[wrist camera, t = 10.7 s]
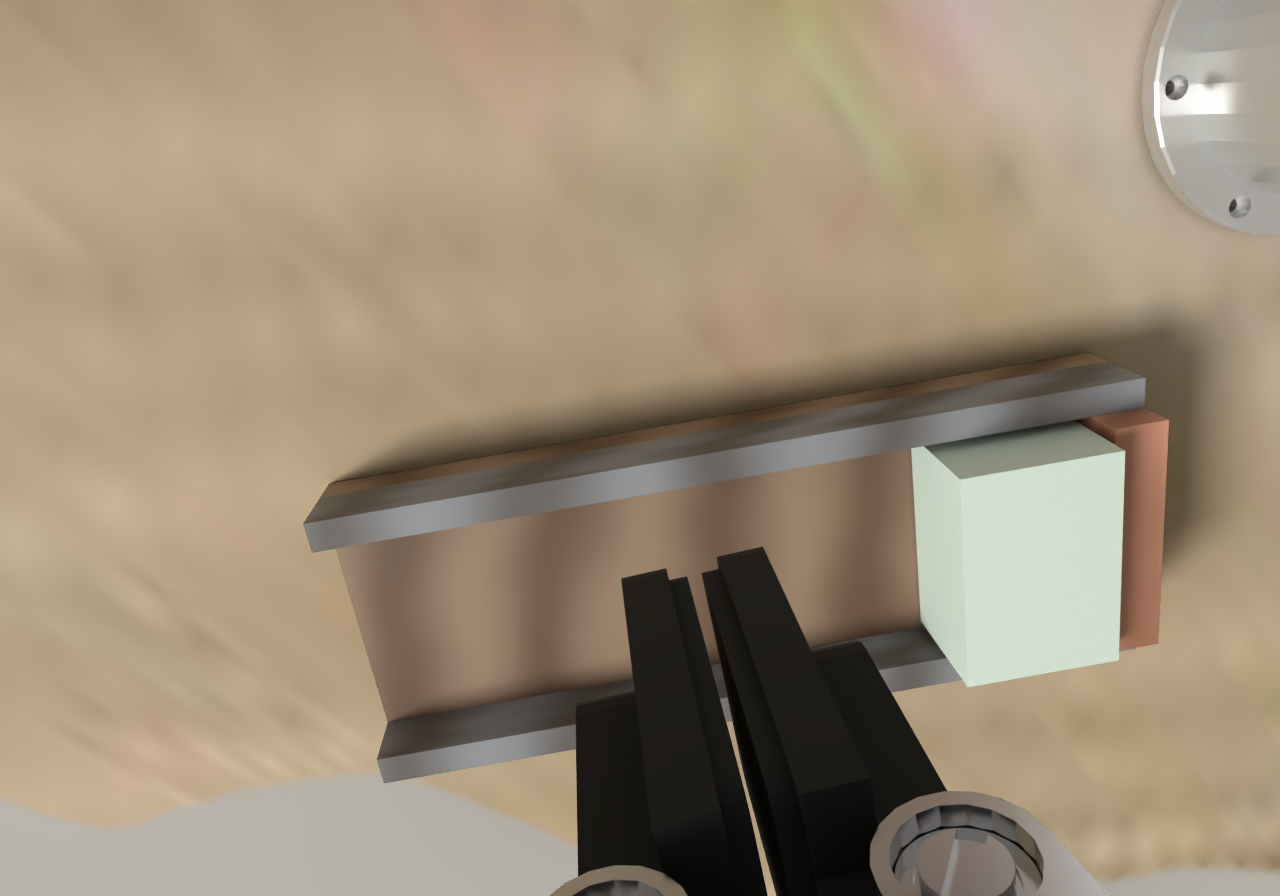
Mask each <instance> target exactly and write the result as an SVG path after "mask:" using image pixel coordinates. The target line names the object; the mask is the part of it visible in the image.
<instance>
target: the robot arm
mask: <svg viewBox="0 0 1280 896" xmlns="http://www.w3.org/2000/svg"><path fill="white" fill-rule="evenodd" d="M1166 84H1167V90H1166V92H1165V87H1166ZM1141 104H1142V114H1143V124H1144V133H1145V136H1146V139H1147V142H1148V146H1149V149H1150V152H1151V155H1152V159H1153V162H1154V163H1155V165H1156V167H1157V169H1158V171H1159V172H1160V174H1161V176H1162V178H1163V179H1164V181H1165V183H1166V185H1167V186H1168V187H1169V189H1170V190H1171V191H1172V192H1173V193H1174V194H1175V195H1176V196H1177V197H1178V198H1179V200H1180V201H1181V202H1182V203H1183V204H1184V205H1185V206H1186V207H1187V208H1189V209H1190V210H1192V211H1193V212H1195V213H1196V214H1198V215H1199V216H1201V217H1202V218H1204V219H1205V220H1207V221H1209V222H1211V223H1214V224H1217V225H1219V226H1222V227H1224V228H1227V229H1230V230H1232V231H1239V232H1245V233H1250V234H1255V235H1260V236H1280V0H1165V2H1164V4H1163V7H1162V9H1161V11H1160V14H1159V16H1158V19H1157V21H1156V23H1155V26H1154V28H1153V31H1152V34H1151V38H1150V42H1149V46H1148V51H1147V55H1146V59H1145V63H1144V69H1143V82H1142V95H1141ZM717 564H718V569H716V570H712V571H708V572H703V573H702V578H703V583H704V588H705V593H706V598H707V603H708V607H709V612H710V617H711V622H712V626H713V631H714V636H715V641H716V645H717V650H718V655H719V660H720V664H721V669H722V674H723V678H724V683H725V688H726V693H727V697H728V702H729V707H730V712H731V716H732V721H733V726H734V731H735V735H736V740H737V745H738V750H739V754H740V759H741V764H742V768H743V772H744V777H745V781H746V785H747V789H748V792H749V796H750V800H751V803H752V807H753V811H754V814H755V818H756V822H757V825H758V829H759V833H760V837H761V840H762V844H763V848H764V851H765V855H766V859H767V862H768V866H769V870H770V873H771V877H772V881H773V884H774V888H775V892H776V895H777V896H1110V895H1109V894H1108V893H1107V892H1106V891H1105V890H1104V888H1103V887H1102V886H1101V885H1100V884H1099V883H1098V882H1097V881H1096V880H1095V879H1094V878H1093V877H1092V875H1091V874H1090V873H1089V872H1088V871H1087V870H1086V869H1085V868H1084V867H1083V866H1082V865H1081V864H1080V862H1079V861H1078V860H1077V859H1076V858H1075V857H1074V856H1073V855H1072V854H1071V853H1070V852H1069V851H1068V849H1067V848H1066V847H1065V846H1064V845H1063V844H1062V843H1061V842H1060V841H1059V840H1058V839H1057V838H1056V837H1055V835H1054V834H1053V833H1052V832H1051V831H1050V830H1049V829H1048V828H1047V827H1046V826H1045V825H1043V824H1042V823H1041V822H1040V821H1039V820H1037V819H1036V818H1035V817H1034V816H1032V815H1031V814H1030V813H1029V812H1028V811H1026V810H1025V809H1022V808H1020V807H1018V806H1016V805H1014V804H1012V803H1010V802H1008V801H1005V800H1003V799H1001V798H998V797H994V796H989V795H985V794H980V793H976V792H961V791H947V790H946V788H945V786H944V785H943V783H942V781H941V779H940V778H939V776H938V774H937V772H936V771H935V769H934V767H933V765H932V764H931V762H930V760H929V758H928V757H927V755H926V753H925V751H924V750H923V748H922V746H921V744H920V742H919V741H918V739H917V737H916V735H915V734H914V732H913V730H912V728H911V727H910V725H909V723H908V721H907V720H906V718H905V716H904V714H903V713H902V711H901V709H900V707H899V706H898V704H897V702H896V700H895V698H894V697H893V695H892V693H891V691H890V690H889V688H888V686H887V684H886V683H885V681H884V679H883V677H882V676H881V674H880V672H879V670H878V669H877V667H876V665H875V663H874V662H873V660H872V658H871V656H870V654H869V653H868V651H867V649H866V648H865V646H864V645H863V644H862V642H860V641H853V642H849V643H844V644H840V645H835V646H831V647H826V648H822V649H818V650H813V651H811V649H810V647H809V645H808V643H807V641H806V638H805V636H804V634H803V632H802V630H801V628H800V625H799V623H798V621H797V619H796V617H795V615H794V612H793V610H792V608H791V606H790V604H789V602H788V599H787V597H786V595H785V593H784V591H783V589H782V586H781V584H780V582H779V580H778V578H777V576H776V574H775V571H774V569H773V567H772V565H771V563H770V561H769V558H768V556H767V554H766V552H765V550H764V548H763V547H758V548H754V549H749V550H745V551H740V552H736V553H731V554H727V555H723V556H718V557H717ZM621 583H622V591H623V600H624V608H625V616H626V624H627V633H628V641H629V649H630V657H631V666H632V674H633V682H634V691H631V692H627V693H622V694H618V695H613V696H609V697H605V698H600V699H596V700H591V701H587V702H582V703H578V704H577V706H576V769H577V828H578V877H577V878H575V879H573V880H571V881H568V882H566V883H565V884H564V885H562V886H561V887H560V888H558V889H557V890H556V891H555V892H554V893H553V894H551V895H550V896H767V891H766V886H765V881H764V877H763V872H762V867H761V863H760V858H759V853H758V848H757V844H756V839H755V834H754V830H753V825H752V821H751V817H750V812H749V808H748V804H747V800H746V796H745V792H744V788H743V784H742V780H741V776H740V772H739V768H738V765H737V761H736V757H735V753H734V750H733V746H732V742H731V738H730V735H729V731H728V727H727V723H726V720H725V716H724V712H723V708H722V705H721V701H720V697H719V693H718V690H717V686H716V682H715V678H714V675H713V671H712V667H711V663H710V660H709V656H708V652H707V648H706V645H705V641H704V637H703V633H702V630H701V626H700V622H699V618H698V615H697V611H696V607H695V603H694V600H693V596H692V592H691V588H690V585H689V581H688V577H687V576H685V577H681V578H676V579H672V580H669V578H668V573H667V569H666V568H665V569H660V570H656V571H652V572H647V573H643V574H638V575H634V576H629V577H625V578H621Z"/></svg>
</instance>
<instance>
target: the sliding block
mask: <svg viewBox="0 0 1280 896" xmlns="http://www.w3.org/2000/svg"><path fill="white" fill-rule="evenodd" d="M911 454H912V472H913V490H914V508H915V526H916V544H917V561H918V579H919V597H920V615H921V622H922V623H923V625H924V626H925V628H926V629H927V630H928V632H929V633H930V635H931V636H932V637H933V639H934V640H935V642H936V643H937V644H938V646H939V647H940V649H941V650H942V652H943V653H944V654H945V656H946V657H947V659H948V660H949V661H950V663H951V664H952V666H953V667H954V668H955V670H956V671H957V673H958V674H959V676H960V677H961V678H962V680H963V681H964V683H965V684H966V685H967V687H972V686H977V685H983V684H989V683H994V682H1000V681H1005V680H1011V679H1016V678H1022V677H1028V676H1033V675H1039V674H1044V673H1050V672H1055V671H1061V670H1067V669H1072V668H1078V667H1083V666H1089V665H1095V664H1100V663H1106V662H1111V661H1117V660H1119V637H1120V605H1121V572H1122V540H1123V508H1124V476H1125V450H1123V449H1121V448H1120V447H1118V446H1116V445H1115V444H1113V443H1111V442H1110V441H1108V440H1106V439H1105V438H1103V437H1101V436H1100V435H1098V434H1096V433H1094V432H1093V431H1091V430H1089V429H1088V428H1086V427H1084V426H1083V425H1081V424H1079V423H1078V422H1076V421H1074V420H1071V421H1065V422H1060V423H1054V424H1048V425H1043V426H1037V427H1031V428H1025V429H1020V430H1014V431H1008V432H1002V433H997V434H991V435H985V436H979V437H974V438H968V439H962V440H956V441H951V442H945V443H939V444H933V445H928V446H922V447H916V448H911Z"/></svg>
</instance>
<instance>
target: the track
mask: <svg viewBox="0 0 1280 896" xmlns="http://www.w3.org/2000/svg"><path fill="white" fill-rule="evenodd" d="M1145 388H1146V378H1145V377H1143V376H1141V375H1139V374H1136V373H1134V372H1132V371H1130V370H1127V369H1125V368H1123V367H1121V366H1118V365H1116V364H1114V363H1112V362H1109V361H1107V360H1105V359H1103V358H1100V357H1098V356H1096V355H1094V354H1092V353H1089V352H1088V353H1083V354H1077V355H1071V356H1065V357H1059V358H1054V359H1048V360H1042V361H1036V362H1030V363H1025V364H1019V365H1013V366H1007V367H1001V368H996V369H990V370H984V371H978V372H973V373H967V374H961V375H955V376H949V377H944V378H938V379H932V380H926V381H920V382H915V383H909V384H903V385H897V386H891V387H886V388H880V389H874V390H868V391H863V392H857V393H851V394H845V395H839V396H834V397H828V398H822V399H816V400H810V401H805V402H799V403H793V404H787V405H781V406H776V407H770V408H764V409H758V410H753V411H747V412H741V413H735V414H729V415H724V416H718V417H712V418H706V419H700V420H695V421H689V422H683V423H677V424H671V425H666V426H660V427H654V428H648V429H643V430H637V431H631V432H625V433H619V434H614V435H608V436H602V437H596V438H590V439H585V440H579V441H573V442H567V443H561V444H556V445H550V446H544V447H538V448H533V449H527V450H521V451H515V452H509V453H504V454H498V455H492V456H486V457H480V458H475V459H469V460H463V461H457V462H452V463H446V464H440V465H434V466H428V467H423V468H417V469H411V470H405V471H399V472H394V473H388V474H382V475H376V476H370V477H365V478H359V479H353V480H347V481H342V482H336V483H330V484H329V485H328V486H327V488H326V489H325V491H324V493H323V494H322V496H321V497H320V499H319V500H318V502H317V503H316V505H315V506H314V508H313V510H312V511H311V513H310V514H309V516H308V517H307V519H306V520H305V522H304V523H303V525H304V528H305V531H306V534H307V538H308V541H309V544H310V547H311V551H312V553H313V552H319V551H325V550H330V549H336V552H337V555H338V559H339V562H340V565H341V568H342V572H343V575H344V578H345V582H346V585H347V588H348V592H349V595H350V598H351V602H352V605H353V608H354V612H355V615H356V618H357V621H358V625H359V628H360V631H361V635H362V638H363V641H364V645H365V648H366V651H367V655H368V658H369V661H370V665H371V668H372V671H373V674H374V678H375V681H376V684H377V688H378V691H379V694H380V698H381V701H382V704H383V708H384V711H385V714H386V718H387V721H388V724H387V727H386V731H385V734H384V737H383V741H382V744H381V748H380V751H379V754H378V758H377V762H378V765H379V768H380V771H381V775H382V778H383V781H384V783H389V782H394V781H400V780H405V779H411V778H417V777H422V776H428V775H433V774H439V773H445V772H450V771H456V770H461V769H467V768H472V767H478V766H484V765H489V764H495V763H500V762H506V761H511V760H517V759H523V758H528V757H534V756H539V755H545V754H551V753H556V752H562V751H567V750H573V749H576V706H577V704H578V703H582V702H587V701H591V700H596V699H600V698H605V697H609V696H613V695H618V694H622V693H627V692H631V691H634V682H633V674H632V666H631V657H630V649H629V641H628V633H627V624H626V616H625V608H624V600H623V591H622V583H621V578H625V577H629V576H634V575H638V574H643V573H647V572H652V571H656V570H660V569H665V568H666V569H667V573H668V578H669V580H672V579H676V578H681V577H685V576H687V577H688V581H689V585H690V588H691V592H692V596H693V600H694V603H695V607H696V611H697V615H698V618H699V622H700V626H701V630H702V633H703V637H704V641H705V645H706V648H707V652H708V656H709V660H710V663H711V667H712V671H713V675H714V678H715V682H716V686H717V690H718V693H719V697H720V701H721V705H722V708H723V712H724V716H725V720H726V722H729V721H732V716H731V712H730V707H729V702H728V697H727V693H726V688H725V683H724V678H723V674H722V669H721V664H720V660H719V655H718V650H717V645H716V641H715V636H714V631H713V626H712V622H711V617H710V612H709V607H708V603H707V598H706V593H705V588H704V583H703V578H702V573H703V572H708V571H712V570H716V569H718V564H717V557H718V556H723V555H727V554H731V553H736V552H740V551H745V550H749V549H754V548H758V547H763V548H764V550H765V552H766V554H767V556H768V558H769V561H770V563H771V565H772V567H773V569H774V571H775V574H776V576H777V578H778V580H779V582H780V584H781V586H782V589H783V591H784V593H785V595H786V597H787V599H788V602H789V604H790V606H791V608H792V610H793V612H794V615H795V617H796V619H797V621H798V623H799V625H800V628H801V630H802V632H803V634H804V636H805V638H806V641H807V643H808V645H809V647H810V649H811V651H813V650H818V649H822V648H826V647H831V646H835V645H840V644H844V643H849V642H853V641H860V642H862V644H863V645H864V646H865V648H866V649H867V651H868V653H869V654H870V656H871V658H872V660H873V662H874V663H875V665H876V667H877V669H878V670H879V672H880V674H881V676H882V677H883V679H884V681H885V683H886V684H887V686H888V688H889V690H890V691H891V692H897V691H902V690H908V689H913V688H919V687H924V686H930V685H936V684H941V683H947V682H952V681H958V680H962V678H961V677H960V676H959V674H958V673H957V671H956V670H955V668H954V667H953V666H952V664H951V663H950V661H949V660H948V659H947V657H946V656H945V654H944V653H943V652H942V650H941V649H940V647H939V646H938V644H937V643H936V642H935V640H934V639H933V637H932V636H931V635H930V633H929V632H928V630H927V629H926V628H925V626H924V625H923V623H922V622H921V615H920V597H919V579H918V561H917V544H916V526H915V508H914V490H913V472H912V454H911V448H916V447H922V446H928V445H933V444H939V443H945V442H951V441H956V440H962V439H968V438H974V437H979V436H985V435H991V434H997V433H1002V432H1008V431H1014V430H1020V429H1025V428H1031V427H1037V426H1043V425H1048V424H1054V423H1060V422H1065V421H1071V420H1074V421H1076V422H1078V423H1079V424H1081V425H1083V426H1084V427H1086V428H1088V429H1089V430H1091V431H1093V432H1094V433H1096V434H1098V435H1100V436H1101V437H1103V438H1105V439H1106V440H1108V441H1110V442H1111V443H1113V444H1115V445H1116V446H1118V447H1120V448H1121V449H1123V450H1125V476H1124V508H1123V540H1122V572H1121V605H1120V637H1119V652H1120V651H1125V650H1131V649H1136V647H1142V646H1147V645H1153V644H1158V639H1159V618H1160V597H1161V577H1162V556H1163V535H1164V514H1165V494H1166V473H1167V452H1168V431H1169V420H1168V419H1166V418H1164V417H1162V416H1160V415H1158V414H1156V413H1154V412H1152V411H1150V410H1148V409H1146V408H1145Z"/></svg>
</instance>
